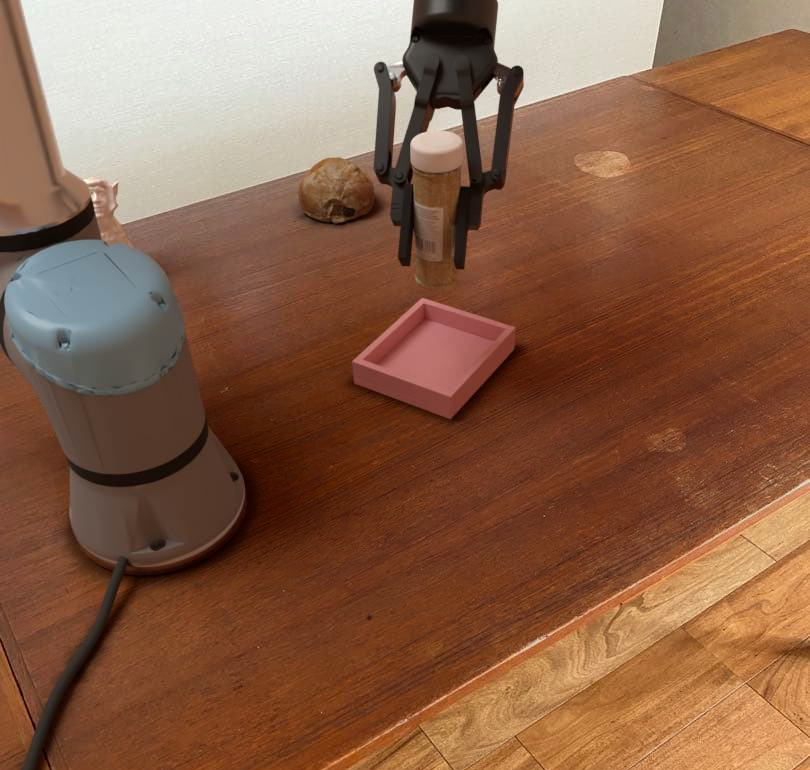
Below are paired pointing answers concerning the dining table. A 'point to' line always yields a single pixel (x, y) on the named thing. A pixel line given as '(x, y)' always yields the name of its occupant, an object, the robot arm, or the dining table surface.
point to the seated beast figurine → (106, 210)
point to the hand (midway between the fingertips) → (431, 263)
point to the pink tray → (434, 357)
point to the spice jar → (436, 207)
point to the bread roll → (336, 191)
